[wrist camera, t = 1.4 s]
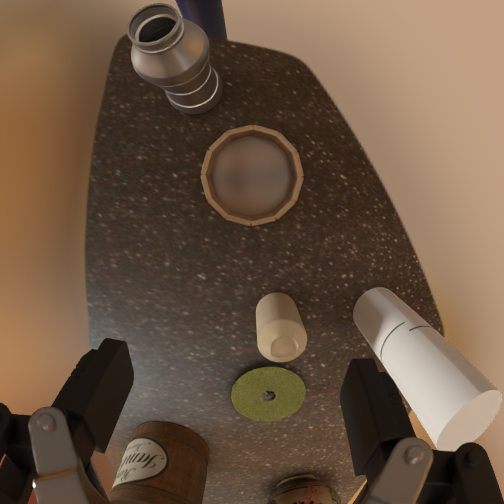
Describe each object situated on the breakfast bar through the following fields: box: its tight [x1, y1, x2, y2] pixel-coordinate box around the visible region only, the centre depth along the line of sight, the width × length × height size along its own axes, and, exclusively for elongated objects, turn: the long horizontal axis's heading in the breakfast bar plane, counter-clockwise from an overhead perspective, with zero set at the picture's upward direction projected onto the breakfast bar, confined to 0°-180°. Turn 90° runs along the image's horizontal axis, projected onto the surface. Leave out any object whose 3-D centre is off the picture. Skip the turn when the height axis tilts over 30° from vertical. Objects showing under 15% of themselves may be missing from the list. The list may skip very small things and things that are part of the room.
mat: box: [231, 367, 306, 422], centre depth 44 cm, size 11×11×2 cm
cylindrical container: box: [353, 287, 502, 451], centre depth 30 cm, size 7×7×25 cm
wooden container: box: [108, 422, 209, 504], centre depth 37 cm, size 15×15×22 cm
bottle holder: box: [201, 125, 304, 226], centre depth 35 cm, size 12×12×5 cm
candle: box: [256, 292, 307, 362], centre depth 37 cm, size 6×6×10 cm
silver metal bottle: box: [127, 3, 223, 114], centre depth 25 cm, size 6×7×20 cm
